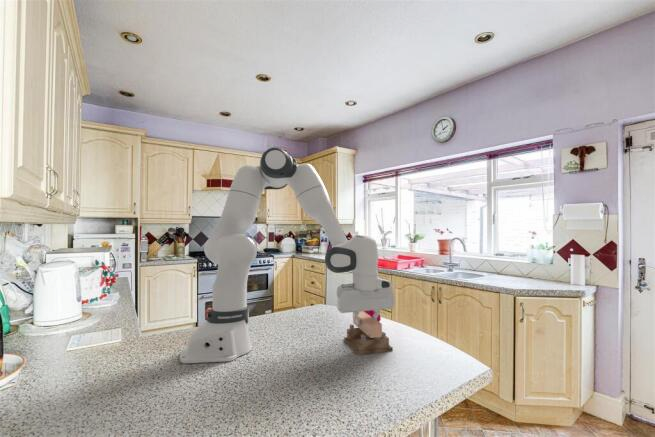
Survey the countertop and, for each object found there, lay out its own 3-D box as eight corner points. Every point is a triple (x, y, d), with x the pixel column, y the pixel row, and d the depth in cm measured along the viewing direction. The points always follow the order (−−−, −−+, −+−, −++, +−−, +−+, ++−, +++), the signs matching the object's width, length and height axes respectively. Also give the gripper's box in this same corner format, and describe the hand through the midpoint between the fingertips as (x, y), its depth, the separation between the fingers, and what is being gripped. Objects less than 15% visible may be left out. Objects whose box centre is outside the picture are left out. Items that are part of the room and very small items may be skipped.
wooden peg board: (357, 355, 100) (357, 337, 100) (344, 340, 113) (343, 324, 113) (392, 350, 103) (392, 333, 103) (375, 336, 116) (374, 321, 116)
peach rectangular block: (370, 337, 100) (370, 325, 100) (353, 323, 115) (352, 312, 115) (382, 336, 101) (381, 323, 101) (363, 321, 116) (363, 311, 116)
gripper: (339, 286, 103) (340, 329, 102) (396, 282, 108) (397, 323, 108) (334, 283, 109) (334, 323, 108) (388, 279, 114) (389, 318, 114)
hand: (366, 323), depth 108 cm, fingers closed on peach rectangular block, 4 cm apart
